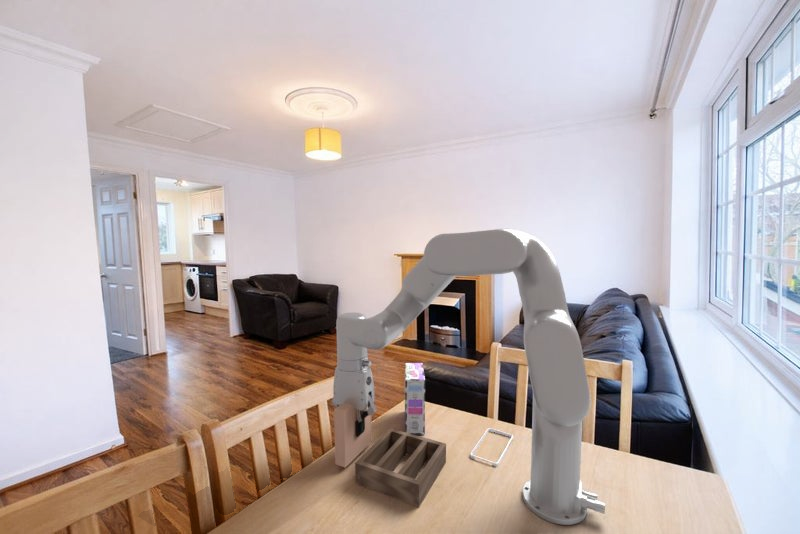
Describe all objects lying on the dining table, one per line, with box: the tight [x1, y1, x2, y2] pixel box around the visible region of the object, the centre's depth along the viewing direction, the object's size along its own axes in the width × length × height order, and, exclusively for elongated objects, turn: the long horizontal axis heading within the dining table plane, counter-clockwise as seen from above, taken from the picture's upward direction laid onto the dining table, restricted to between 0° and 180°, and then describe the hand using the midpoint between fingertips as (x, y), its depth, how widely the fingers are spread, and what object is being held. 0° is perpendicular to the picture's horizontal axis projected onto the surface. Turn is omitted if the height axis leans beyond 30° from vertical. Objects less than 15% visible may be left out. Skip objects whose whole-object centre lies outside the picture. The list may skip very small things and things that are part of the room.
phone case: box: [470, 427, 514, 467], centre depth 96 cm, size 7×1×15 cm
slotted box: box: [354, 427, 447, 508], centre depth 85 cm, size 16×16×5 cm
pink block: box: [333, 403, 373, 469], centre depth 91 cm, size 3×12×14 cm, turn 153°
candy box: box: [404, 362, 426, 436], centre depth 108 cm, size 14×6×16 cm, turn 179°
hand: (353, 431), depth 91 cm, fingers closed on pink block, 3 cm apart
